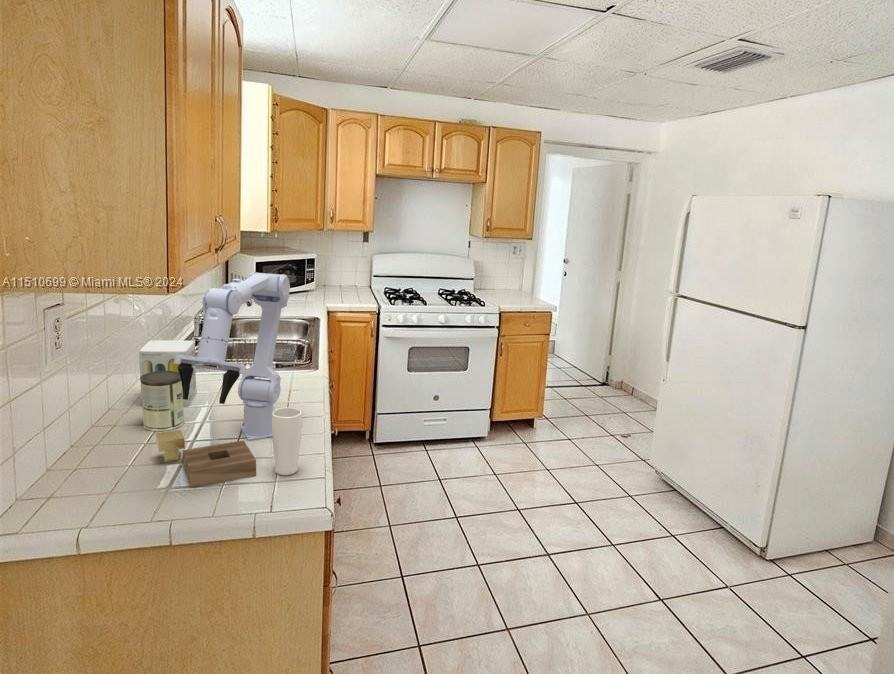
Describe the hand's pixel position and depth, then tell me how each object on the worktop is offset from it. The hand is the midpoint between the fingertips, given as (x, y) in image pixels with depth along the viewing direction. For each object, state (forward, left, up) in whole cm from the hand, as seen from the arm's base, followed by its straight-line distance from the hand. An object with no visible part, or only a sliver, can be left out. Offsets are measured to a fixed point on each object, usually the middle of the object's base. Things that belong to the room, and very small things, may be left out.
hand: (203, 401), depth 124 cm
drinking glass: (+3, +18, -19) cm, 26 cm away
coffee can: (-38, -4, -19) cm, 43 cm away
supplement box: (-58, 0, -19) cm, 61 cm away
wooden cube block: (-15, -5, -19) cm, 25 cm away
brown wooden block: (-4, +4, -19) cm, 20 cm away
